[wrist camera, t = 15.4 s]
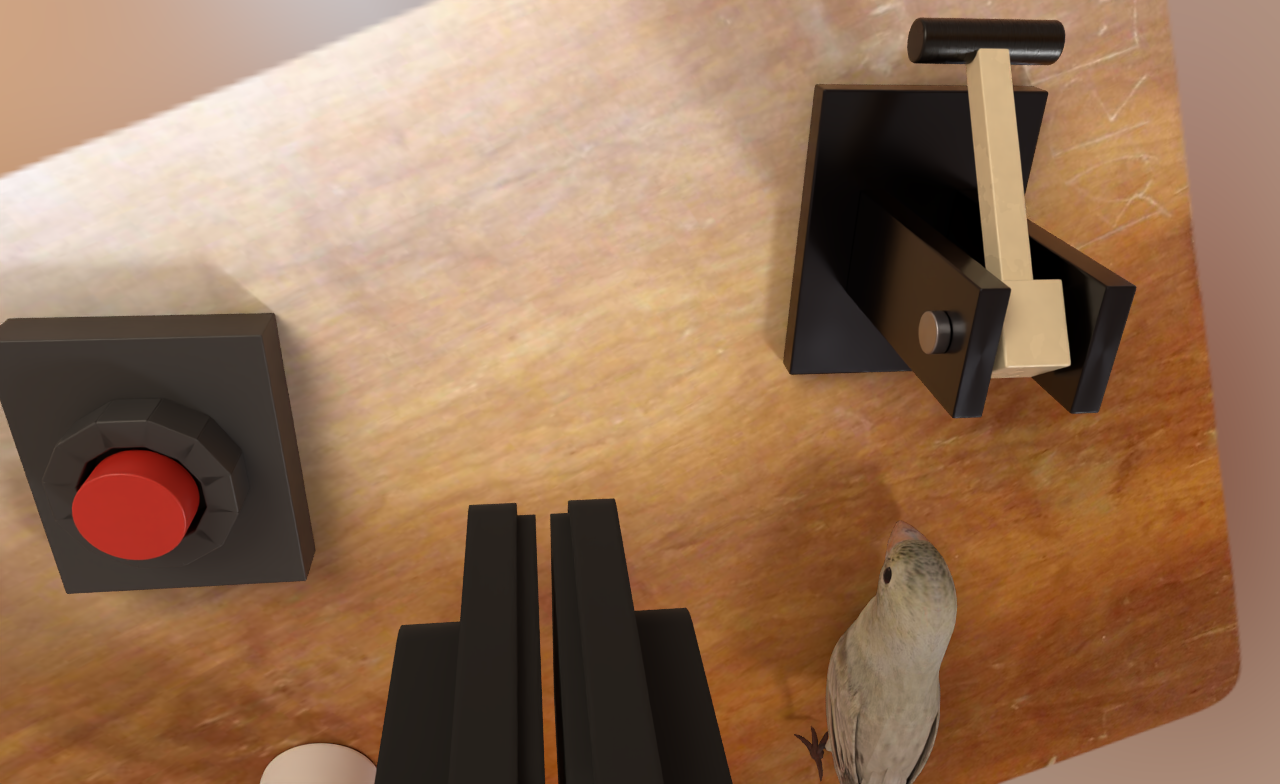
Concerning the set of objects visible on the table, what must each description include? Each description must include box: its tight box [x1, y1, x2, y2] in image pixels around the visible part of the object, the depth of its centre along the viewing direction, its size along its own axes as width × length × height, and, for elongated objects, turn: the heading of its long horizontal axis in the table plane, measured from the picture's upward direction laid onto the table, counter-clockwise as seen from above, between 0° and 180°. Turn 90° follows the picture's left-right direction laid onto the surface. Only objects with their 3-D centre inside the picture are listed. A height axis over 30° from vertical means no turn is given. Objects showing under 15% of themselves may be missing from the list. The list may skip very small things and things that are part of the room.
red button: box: [72, 450, 199, 560], centre depth 35 cm, size 4×4×2 cm
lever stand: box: [783, 84, 1136, 418], centre depth 33 cm, size 12×9×12 cm
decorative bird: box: [794, 521, 957, 784], centre depth 46 cm, size 5×16×8 cm, turn 172°
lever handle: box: [907, 18, 1071, 378], centre depth 30 cm, size 12×5×2 cm
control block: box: [0, 313, 315, 594], centre depth 37 cm, size 12×10×4 cm
